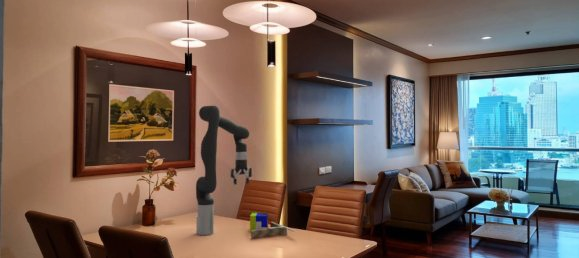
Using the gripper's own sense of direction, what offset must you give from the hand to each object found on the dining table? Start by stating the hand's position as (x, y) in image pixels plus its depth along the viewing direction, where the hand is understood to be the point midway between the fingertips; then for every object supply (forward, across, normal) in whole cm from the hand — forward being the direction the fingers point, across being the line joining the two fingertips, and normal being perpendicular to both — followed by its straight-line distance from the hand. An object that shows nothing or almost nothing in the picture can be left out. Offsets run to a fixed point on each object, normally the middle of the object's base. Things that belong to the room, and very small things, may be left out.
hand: (241, 184), depth 269 cm
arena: (+26, +2, -36) cm, 45 cm away
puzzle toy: (+26, +3, -22) cm, 35 cm away
